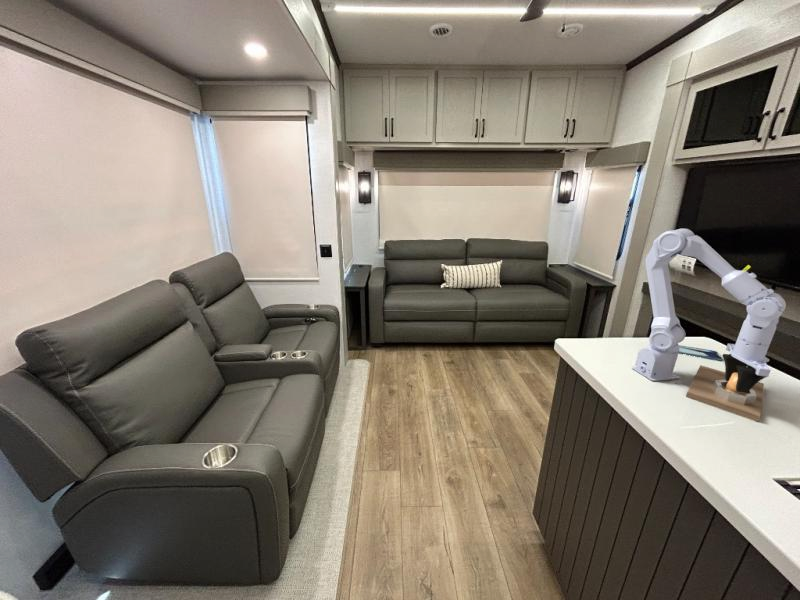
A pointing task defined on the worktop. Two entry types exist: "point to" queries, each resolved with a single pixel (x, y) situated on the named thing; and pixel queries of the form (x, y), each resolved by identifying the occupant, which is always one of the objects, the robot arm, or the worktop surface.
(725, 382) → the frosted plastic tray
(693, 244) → the robot arm
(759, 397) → the mount board
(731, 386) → the orange rounded cylinder
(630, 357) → the worktop surface
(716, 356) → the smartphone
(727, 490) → the worktop surface
